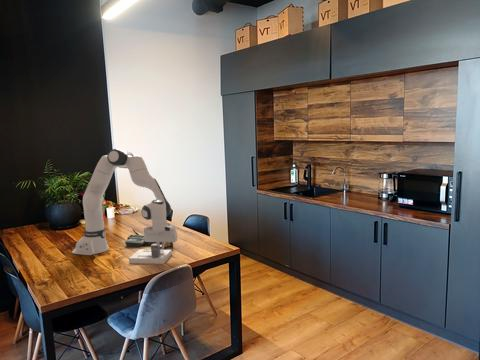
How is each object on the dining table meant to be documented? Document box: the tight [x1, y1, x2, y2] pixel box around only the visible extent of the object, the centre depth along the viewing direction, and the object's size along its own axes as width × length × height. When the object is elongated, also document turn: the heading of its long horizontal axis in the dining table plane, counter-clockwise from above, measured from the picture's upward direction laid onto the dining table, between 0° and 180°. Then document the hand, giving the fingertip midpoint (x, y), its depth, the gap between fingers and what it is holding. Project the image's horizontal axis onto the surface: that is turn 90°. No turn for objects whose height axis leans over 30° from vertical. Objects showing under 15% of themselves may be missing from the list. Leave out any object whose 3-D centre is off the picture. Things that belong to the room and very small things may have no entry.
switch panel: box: [128, 248, 173, 265], centre depth 224 cm, size 21×15×3 cm
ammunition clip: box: [159, 242, 174, 250], centre depth 241 cm, size 11×2×12 cm, turn 125°
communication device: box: [124, 229, 156, 247], centre depth 251 cm, size 12×24×9 cm, turn 82°
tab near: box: [151, 248, 161, 257], centre depth 219 cm, size 4×4×4 cm
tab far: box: [150, 244, 159, 250], centre depth 227 cm, size 4×4×4 cm
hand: (161, 248), depth 226 cm, fingers closed
